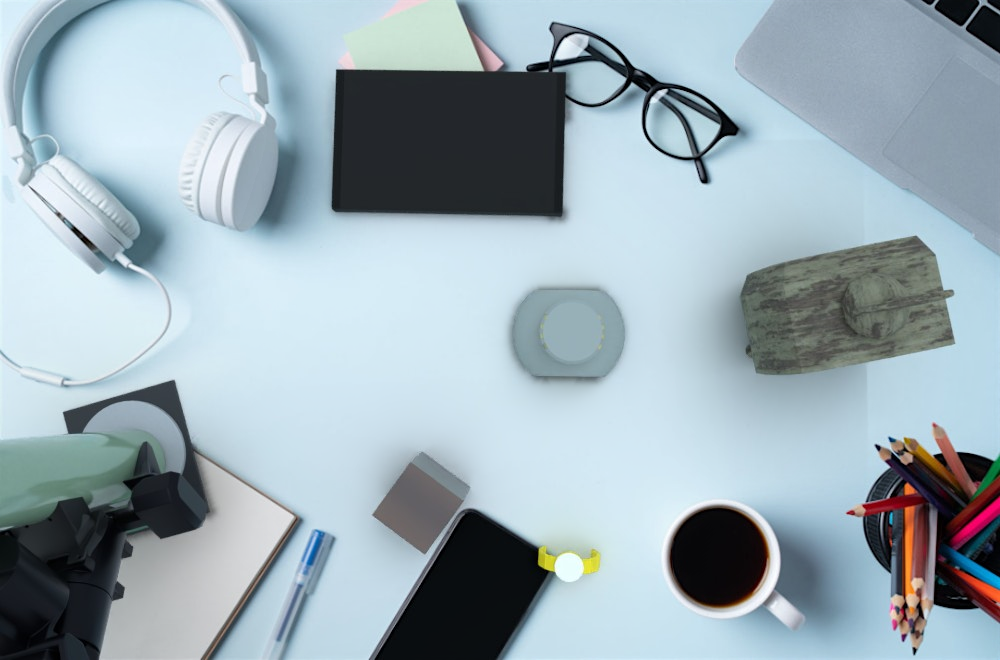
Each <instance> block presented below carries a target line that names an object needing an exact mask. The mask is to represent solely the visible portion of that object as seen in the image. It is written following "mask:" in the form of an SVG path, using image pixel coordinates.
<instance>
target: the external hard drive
mask: <svg viewBox="0 0 1000 660" xmlns="http://www.w3.org/2000/svg"><path fill="white" fill-rule="evenodd" d="M566 88H567V71H514V70H513V71H512V70H511V71H508V70H506V71H505V70H437V69H436V70H435V69H434V70H433V69H432V70H431V69H429V70H427V69H361V68H360V69H349V68H348V69H347V68H346V69H345V68H336V69H335V89H334V90H335V92H334V116H333V117H334V119H333V121H334V122H333V146H332V149H333V153H332V175H331V177H332V178H331V179H332V180H331V210H332V211H333V212H335V213H362V214H363V213H364V214H366V213H368V214H371V213H372V214H412V215H413V214H415V215H417V214H419V215H420V214H421V215H424V214H425V215H426V214H427V215H462V216H463V215H465V216H466V215H467V216H469V215H470V216H513V217H514V216H515V217H516V216H518V217H519V216H521V217H526V216H527V217H563V214H564V213H563V212H564V177H565V176H564V174H565V134H566V133H565V131H566V90H567V89H566Z"/></svg>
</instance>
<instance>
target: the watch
mask: <svg viewBox="0 0 1000 660" xmlns="http://www.w3.org/2000/svg"><path fill="white" fill-rule="evenodd" d="M547 548H548V547H547V546H546V545H543V546H541V547H539V548H538V560H537V565H538V566H539V567H540V568H542V569H544V570H547V571H549V572H554V573H555V575H556V576H557V578H558V579H560V580H561V581H562V582H566V583H573V582H575V581H577V580H579V579H580V578H581V577H582V575H591V574H594V573H596V572H598V571H600V566H601V564H600V563H601V552H599V551H597V550H595V549H591V550H590V557H589V558H582V557H581V556H580V554H578V553H577V552H575V551H573V550H565V551H562V552H560V553H559V554H558V555H557V556H555V555H551V554H548V553H547V550H548V549H547Z"/></svg>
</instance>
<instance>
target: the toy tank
mask: <svg viewBox="0 0 1000 660" xmlns="http://www.w3.org/2000/svg"><path fill="white" fill-rule="evenodd" d="M954 296H955V291H954V290H953V289H950V288H949V289H944V287H943V282H942V277H941V272H940V268H939V264H938V259H937V254H936V253H935V252H934V251H933V250H932V249H931V248H930V247H929V246H928V245H927V244H926V243H925V242H924V241H923V240H921V238H920V237H919V236H918V235H912V236H906V237H900V238H896V239H890V240H886V241H880V242H875V243H869V244H865V245H859V246H854V247H849V248H844V249H839V250H834V251H830V252H829V251H828V252H827V253H826V252H825V253H820V254H815V255H810V256H806V257H801V258H796V259H791V260H788V261H784V262H780V263H779V262H778V263H776V264H772V265H769V266H766V267H764V268H761V269H758V270H755V271H753V272H751V273H748V274H746V277H745V280H744V283H743V286H742V289H741V292H740V296H739V299H740V304H741V309H742V314H743V318H744V322H745V329H746V331H747V336H748V343H749V344H748V345H746V348H745V354H746V356H747V357H748V358H751V359H752V360H753V365H754V369H755V373H756V374H759V375H764V376H790V375H803V374H810V373H816V372H821V371H827V370H828V371H829V370H833V369H838V368H844V367H849V366H855V365H859V364H864V363H870V362H876V361H880V360H881V361H882V360H886V359H892V358H896V357H900V356H906V355H911V354H915V353H921V352H926V351H930V350H935V349H940V348H945V347H948V346H949V347H950V346H953V345H956V340H955V335H954V330H953V326H952V322H951V318H950V313H949V309H948V303H947V299H949V298H952V297H954Z"/></svg>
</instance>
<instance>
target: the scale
mask: <svg viewBox="0 0 1000 660" xmlns="http://www.w3.org/2000/svg"><path fill="white" fill-rule="evenodd" d="M177 387H178V386H177V383H176V380H175V379H171V380H167V381H164V382H161V383H158V384H154V385H151V386H147V387H143V388H141V389H137V390H134V391H130V392H126V393H123V394H120V395H116V396H112V397H109V398H106V399H103V400H99V401H96V402H95V401H94V402H92V403H88V404H86V405H82V406H79V407H75V408H72V409H68V410H64V411H62V414H63V419H64V422H65V423H64V424H65V425H66V430H67V434H73V433H85V432H97V431H110V430H122V429H139V430H143V431H146V432H148V433H149V434H151V435H152V436H153V437H155V438H156V439H157V441H158V442H159V443H160V445H161V447H162V449H163V452H164V456H165V469H164V473H166V472H169V471H173V472H177V473H180V474H181V475H182V476H183V477H184V478H185V480H186V481H187V482H188V483H189V484H190V485H191V487H192V488H193V489H194V490H195V491H196V492H197V493H198V495H199V496H200V497H201V498H202V499H203V500H204V502H205V503H206V504H207V511H206V515H207V514H210V513H211V510H210V505H209V503H208V500H207V496H206V492H205V488H204V484H203V481H202V477H201V473H200V469H199V466H198V462H197V459H196V458H197V457H196V453H195V451H194V447H193V443H192V440H191V436H190V433H189V428H188V425H187V421H186V417H185V413H184V409H183V406H182V403H181V402H182V401H181V397H180V394H179V391H178V388H177ZM128 501H129V500H128ZM128 501H124V502H120V503H116V504H112V505H108V506H104V507H100V508H96V509H92V510H90V514H91V512H93V511H97V510H100V509H101V510H102V511H105V510H109V509H112V508H116V507H120V506H123V505H127V504H128ZM147 531H152V530H151V529H150V528H149V527H148V526H143V527H140V528H136V529H133V530H129V531H125V532H126V537H129V536H133V535H136V534H140V533H143V532H147Z"/></svg>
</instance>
